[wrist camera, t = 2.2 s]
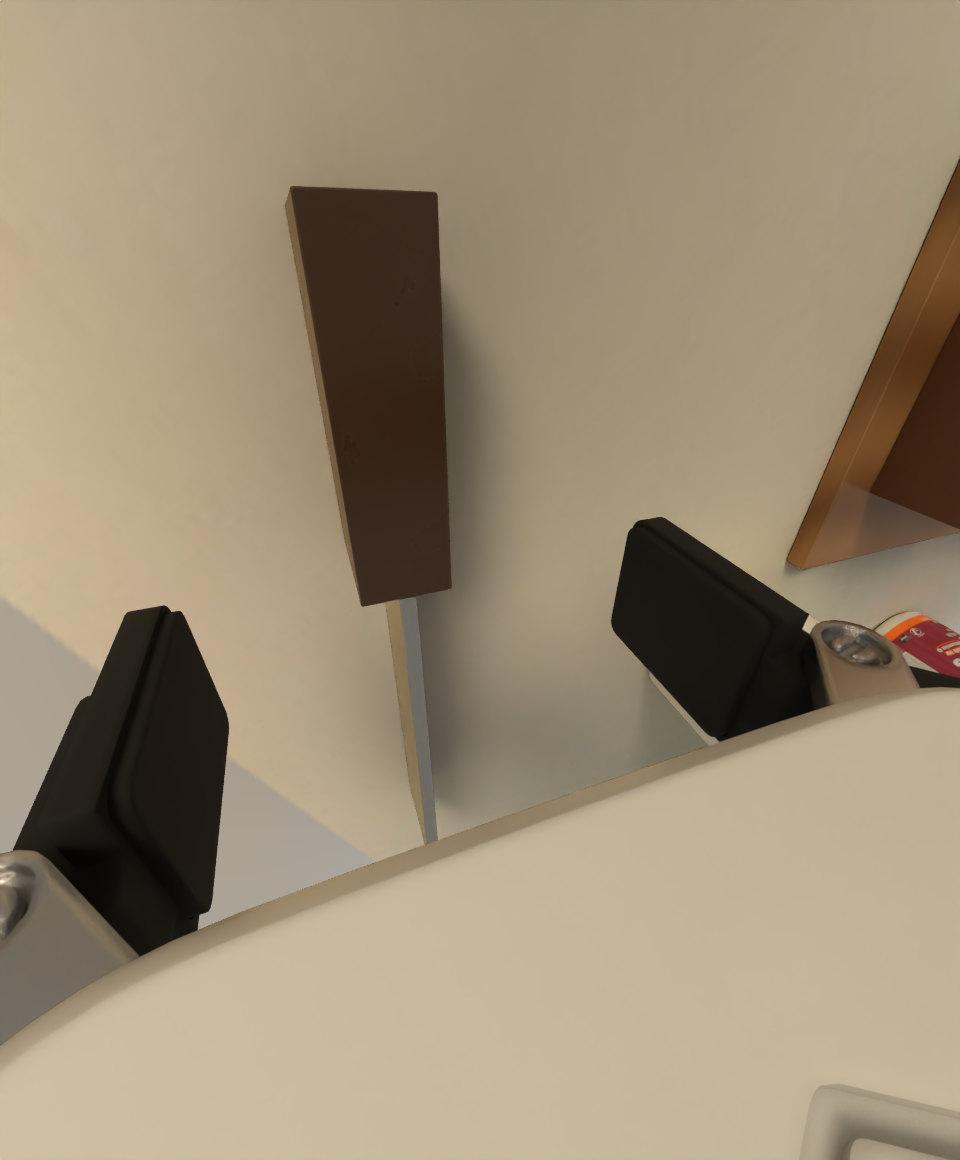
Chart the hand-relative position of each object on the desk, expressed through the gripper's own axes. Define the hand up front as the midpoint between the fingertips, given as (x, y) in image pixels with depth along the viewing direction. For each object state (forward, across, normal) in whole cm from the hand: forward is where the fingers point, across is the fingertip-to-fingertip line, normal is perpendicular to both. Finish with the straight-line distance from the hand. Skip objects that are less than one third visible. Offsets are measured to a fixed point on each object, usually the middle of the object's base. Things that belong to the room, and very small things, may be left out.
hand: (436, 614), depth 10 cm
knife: (+7, 0, +5) cm, 8 cm away
